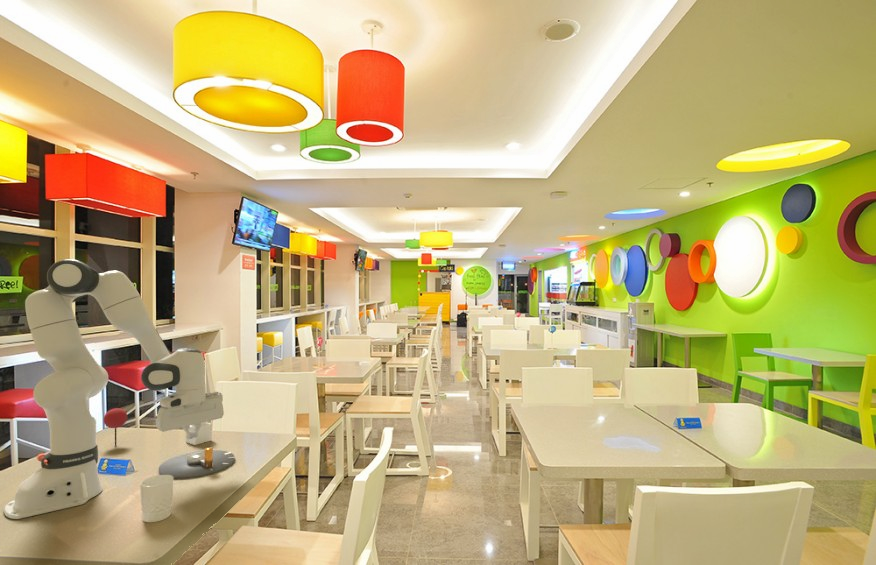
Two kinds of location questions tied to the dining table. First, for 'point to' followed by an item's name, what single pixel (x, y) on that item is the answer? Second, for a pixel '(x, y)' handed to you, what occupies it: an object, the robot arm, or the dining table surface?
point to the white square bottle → (200, 434)
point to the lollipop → (115, 419)
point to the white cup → (156, 497)
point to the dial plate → (183, 470)
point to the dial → (201, 458)
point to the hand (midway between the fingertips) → (192, 437)
